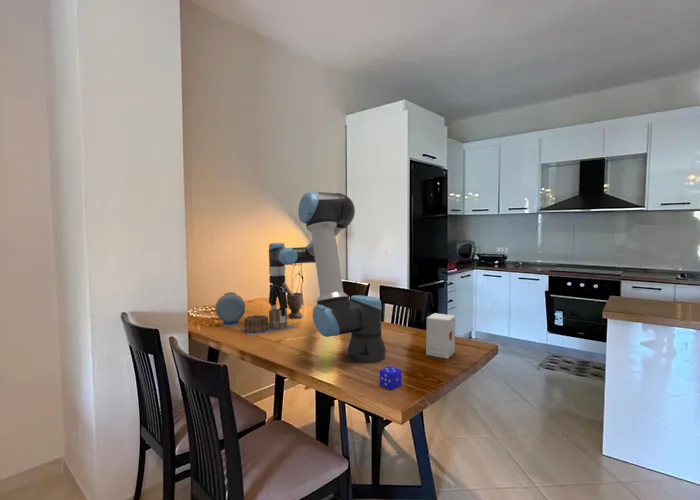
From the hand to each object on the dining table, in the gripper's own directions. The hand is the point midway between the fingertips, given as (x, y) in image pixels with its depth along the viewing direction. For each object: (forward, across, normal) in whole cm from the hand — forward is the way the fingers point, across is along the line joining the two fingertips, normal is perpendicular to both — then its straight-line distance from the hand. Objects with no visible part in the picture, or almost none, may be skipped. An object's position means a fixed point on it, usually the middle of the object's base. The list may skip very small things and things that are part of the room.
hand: (278, 320), depth 184 cm
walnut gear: (+3, 0, +11) cm, 11 cm away
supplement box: (+5, -70, -38) cm, 80 cm away
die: (+5, -81, -2) cm, 81 cm away
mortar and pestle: (+5, +18, -16) cm, 25 cm away
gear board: (+5, 0, +6) cm, 7 cm away
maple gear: (+3, 0, 0) cm, 3 cm away
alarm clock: (+5, +18, +18) cm, 26 cm away
